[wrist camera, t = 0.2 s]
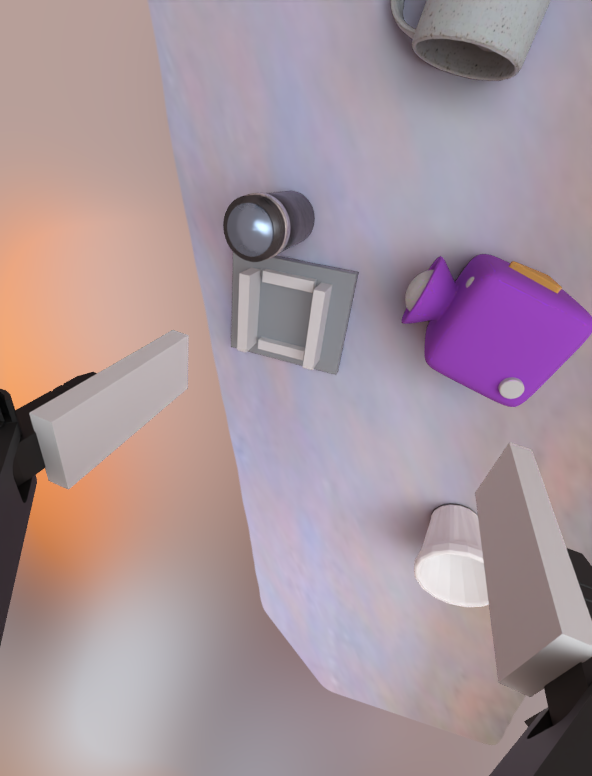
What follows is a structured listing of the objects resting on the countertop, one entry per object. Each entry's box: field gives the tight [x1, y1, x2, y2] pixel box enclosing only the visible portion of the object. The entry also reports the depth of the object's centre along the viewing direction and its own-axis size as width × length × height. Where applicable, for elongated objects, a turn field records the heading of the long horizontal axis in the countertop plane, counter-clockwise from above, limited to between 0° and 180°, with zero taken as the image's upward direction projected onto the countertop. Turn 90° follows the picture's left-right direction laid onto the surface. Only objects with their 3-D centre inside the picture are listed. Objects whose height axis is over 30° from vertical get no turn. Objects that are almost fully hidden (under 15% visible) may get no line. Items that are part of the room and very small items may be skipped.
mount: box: [231, 252, 358, 375], centre depth 41 cm, size 12×14×4 cm
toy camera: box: [402, 254, 592, 407], centre depth 32 cm, size 11×14×10 cm
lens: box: [223, 191, 315, 262], centre depth 33 cm, size 5×5×10 cm
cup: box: [414, 504, 489, 607], centre depth 46 cm, size 10×10×9 cm
